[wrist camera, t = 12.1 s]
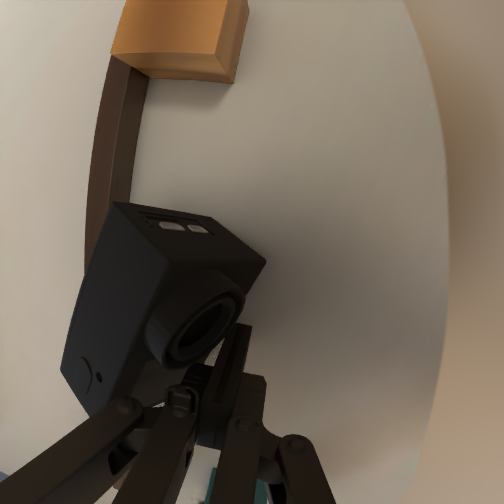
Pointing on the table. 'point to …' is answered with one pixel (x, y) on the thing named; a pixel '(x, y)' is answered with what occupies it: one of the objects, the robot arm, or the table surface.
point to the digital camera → (153, 303)
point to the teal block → (260, 492)
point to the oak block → (182, 38)
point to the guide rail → (113, 150)
